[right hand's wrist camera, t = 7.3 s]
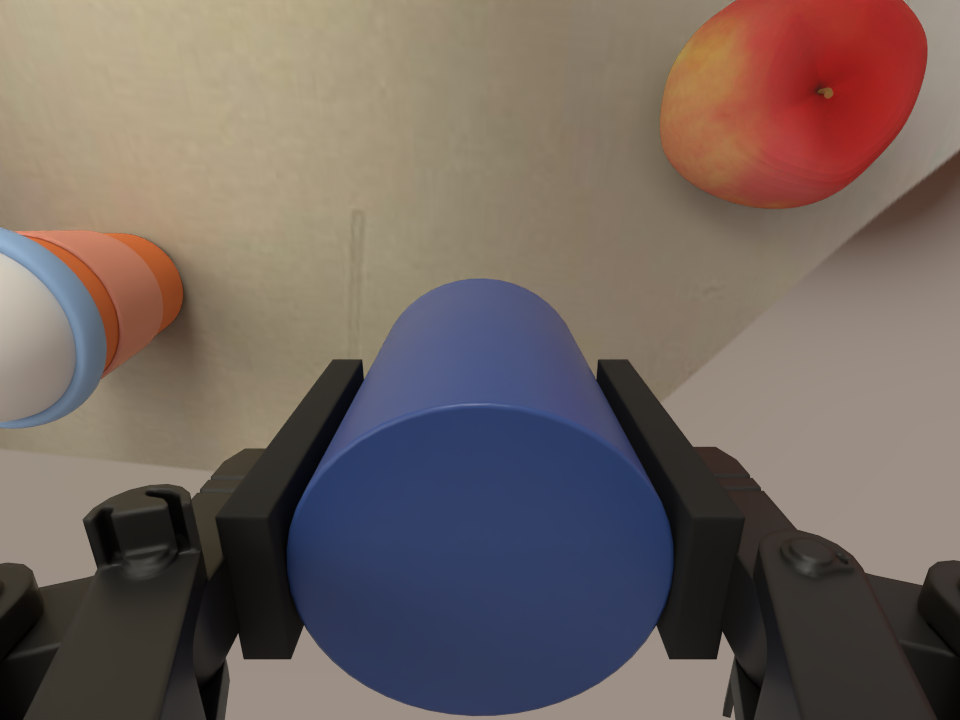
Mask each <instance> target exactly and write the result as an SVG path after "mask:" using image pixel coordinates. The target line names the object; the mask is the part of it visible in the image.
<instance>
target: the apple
mask: <svg viewBox="0 0 960 720" xmlns="http://www.w3.org/2000/svg"><path fill="white" fill-rule="evenodd" d="M926 63H927V39H926V35H925V32H924V29H923V27H922V25H921V23H920V22H919V20H918V18H917V17H916V15H915V14H914V13H913V11H912V10H911V9H910V8H909V6H908V5H907V4H906V3H905V2H904V1H903V0H736V1H735V2H733V3H732V4H730V5H728V6H727V7H726V8H724V9H723V10H721V11H720V12H719V13H717V14H716V15H715V16H713V17H712V18H711V19H709V20H708V21H707V22H706V23H705V24H703V25H702V26H701V27H700V28H699V29H698V30H697V31H696V32H695V34H694V35H693V36H692V37H691V38H690V39H689V41H688V42H687V44H686V45H685V46H684V48H683V49H682V51H681V52H680V54H679V55H678V57H677V59H676V60H675V62H674V64H673V66H672V68H671V71H670V73H669V76H668V79H667V82H666V86H665V90H664V94H663V100H662V105H661V114H660V136H661V142H662V146H663V149H664V152H665V155H666V156H667V158H668V160H669V162H670V163H671V164H672V166H673V167H674V168H675V169H676V170H677V171H678V172H679V173H680V174H681V175H682V176H683V177H684V178H685V179H686V180H688V181H689V182H691V183H692V184H693V185H695V186H697V187H698V188H700V189H702V190H703V191H706V192H708V193H710V194H712V195H714V196H716V197H719V198H721V199H724V200H727V201H729V202H733V203H736V204H740V205H745V206H750V207H756V208H767V209H784V208H793V207H800V206H804V205H808V204H812V203H815V202H817V201H820V200H823V199H825V198H828V197H829V196H831V195H833V194H835V193H836V192H838V191H840V190H842V189H843V188H844V187H846V186H847V185H848V184H850V183H851V182H852V181H854V180H855V179H856V178H857V177H858V176H860V175H861V174H862V173H863V172H864V171H865V170H866V169H867V168H868V167H869V166H870V165H871V164H872V163H873V162H874V161H875V160H876V159H877V158H878V157H879V156H880V155H881V154H882V152H883V151H884V150H885V149H886V148H887V147H888V146H889V145H890V144H891V142H892V141H893V140H894V139H895V138H896V136H897V135H898V133H899V132H900V131H901V129H902V128H903V126H904V125H905V123H906V121H907V119H908V118H909V116H910V114H911V112H912V109H913V107H914V105H915V102H916V100H917V97H918V95H919V92H920V89H921V85H922V82H923V78H924V74H925V69H926Z"/></svg>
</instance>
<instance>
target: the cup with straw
mask: <svg viewBox="0 0 960 720" xmlns="http://www.w3.org/2000/svg"><path fill="white" fill-rule="evenodd" d="M182 301H183V286H182V281H181V278H180V275H179V273H178V271H177V269H176V267H175V265H174V264H173V262H172V261H171V260H170V258H169V257H168V256H167V255H166V254H165V253H164V252H163V251H162V250H161V249H160V248H158V247H157V246H156V245H154V244H153V243H151V242H149V241H148V240H145V239H143V238H141V237H138V236H135V235H130V234H122V233H104V234H102V233H98V232H93V231H83V230H76V231H16V232H13V231H10V230H7V229H4V228H1V227H0V428H27V427H34V426H38V425H43V424H46V423H49V422H52V421H55V420H57V419H60V418H62V417H64V416H66V415H68V414H69V413H71V412H72V411H74V410H75V409H77V408H78V407H79V406H80V405H82V404H83V403H84V402H85V401H86V400H87V399H88V398H89V397H90V395H91V394H92V393H93V391H94V390H95V388H96V387H97V385H98V383H99V381H100V379H102V378H103V377H105V376H106V375H107V374H109V373H110V372H111V371H113V370H114V369H116V368H117V367H118V366H120V365H121V364H122V363H124V362H125V361H126V360H128V359H129V358H131V357H132V356H133V355H135V354H136V353H137V352H139V351H140V350H141V349H143V348H144V347H146V346H147V345H148V344H149V343H150V342H151V341H152V340H153V338H154V337H155V335H156V334H158V333H159V332H161V331H162V330H163V329H165V328H166V327H167V326H168V325H169V324H171V323H172V322H173V321H174V319H175V318H176V317H177V315H178V313H179V311H180V309H181V306H182Z"/></svg>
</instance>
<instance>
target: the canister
mask: <svg viewBox="0 0 960 720" xmlns="http://www.w3.org/2000/svg"><path fill="white" fill-rule="evenodd" d="M286 555H287V575H288V581H289V586H290V592H291V595H292V598H293V601H294V604H295V607H296V609H297V612H298V614H299V616H300V618H301V620H302V622H303V624H304V625H305V627H306V629H307V631H308V632H309V634H310V635H311V636H312V638H313V639H314V641H315V642H316V643H317V645H318V646H319V647H320V648H321V649H322V650H323V652H324V653H325V654H326V655H327V656H328V657H329V658H330V659H331V660H332V661H333V662H334V663H335V664H336V665H338V666H339V667H340V668H341V669H342V670H344V671H345V672H346V673H347V674H348V675H350V676H352V677H353V678H354V679H356V680H357V681H359V682H360V683H362V684H364V685H365V686H367V687H368V688H370V689H372V690H374V691H376V692H378V693H380V694H382V695H384V696H386V697H389V698H391V699H394V700H396V701H399V702H402V703H404V704H407V705H410V706H414V707H418V708H421V709H425V710H429V711H435V712H440V713H446V714H454V715H467V716H496V715H506V714H515V713H521V712H526V711H531V710H535V709H539V708H543V707H546V706H550V705H553V704H556V703H559V702H562V701H564V700H567V699H569V698H571V697H574V696H576V695H578V694H581V693H582V692H584V691H586V690H588V689H590V688H591V687H593V686H595V685H597V684H599V683H600V682H602V681H603V680H604V679H606V678H607V677H609V676H610V675H611V674H613V673H614V672H616V671H617V670H618V669H619V668H620V667H622V666H623V665H624V664H625V663H626V662H627V661H628V660H629V659H630V658H632V657H633V655H634V654H635V653H636V652H637V651H638V650H639V648H640V647H641V646H642V645H643V644H644V643H645V641H646V640H647V639H648V637H649V635H650V634H651V632H652V631H653V629H654V628H655V626H656V625H657V623H658V621H659V619H660V617H661V614H662V612H663V610H664V608H665V606H666V602H667V599H668V596H669V592H670V589H671V584H672V576H673V569H674V545H673V538H672V533H671V528H670V523H669V520H668V518H667V515H666V512H665V510H664V507H663V504H662V502H661V500H660V498H659V496H658V494H657V492H656V491H655V489H654V487H653V485H652V483H651V481H650V479H649V477H648V476H647V474H646V472H645V470H644V468H643V466H642V464H641V463H640V461H639V459H638V457H637V455H636V453H635V451H634V450H633V448H632V446H631V444H630V442H629V440H628V438H627V436H626V435H625V433H624V431H623V429H622V427H621V425H620V423H619V422H618V420H617V418H616V416H615V414H614V412H613V410H612V408H611V407H610V405H609V403H608V401H607V399H606V397H605V395H604V394H603V392H602V390H601V388H600V386H599V384H598V382H597V380H596V379H595V377H594V375H593V373H592V371H591V369H590V367H589V366H588V364H587V362H586V360H585V358H584V356H583V354H582V353H581V351H580V349H579V347H578V345H577V343H576V341H575V339H574V338H573V336H572V334H571V332H570V330H569V329H568V327H567V325H566V323H565V322H564V320H563V319H562V318H561V317H560V315H559V314H558V313H557V312H556V311H555V310H554V309H553V308H552V307H551V306H550V305H549V304H548V303H547V302H546V301H544V300H543V299H542V298H540V297H539V296H538V295H536V294H534V293H532V292H531V291H529V290H527V289H525V288H523V287H520V286H518V285H515V284H512V283H508V282H504V281H500V280H493V279H467V280H460V281H455V282H452V283H448V284H445V285H442V286H440V287H438V288H435V289H433V290H431V291H429V292H428V293H426V294H424V295H423V296H421V297H420V298H418V299H417V300H416V301H415V302H413V303H412V304H411V305H410V306H409V307H408V308H407V309H406V310H405V311H404V312H403V313H402V314H401V315H400V317H399V318H398V320H397V321H396V322H395V324H394V325H393V327H392V329H391V331H390V333H389V334H388V336H387V338H386V340H385V342H384V344H383V346H382V347H381V349H380V351H379V353H378V355H377V357H376V359H375V361H374V362H373V364H372V366H371V368H370V370H369V372H368V374H367V376H366V377H365V379H364V381H363V383H362V385H361V387H360V389H359V391H358V392H357V394H356V396H355V398H354V400H353V402H352V404H351V405H350V407H349V409H348V411H347V413H346V415H345V417H344V419H343V420H342V422H341V424H340V426H339V428H338V430H337V432H336V434H335V435H334V437H333V439H332V441H331V443H330V445H329V447H328V448H327V450H326V452H325V454H324V456H323V458H322V460H321V462H320V463H319V465H318V467H317V469H316V471H315V473H314V475H313V477H312V478H311V480H310V482H309V484H308V486H307V488H306V490H305V492H304V494H303V496H302V498H301V499H300V501H299V503H298V505H297V507H296V510H295V513H294V516H293V519H292V522H291V525H290V529H289V535H288V542H287V549H286Z"/></svg>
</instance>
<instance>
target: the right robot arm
mask: <svg viewBox="0 0 960 720" xmlns="http://www.w3.org/2000/svg"><path fill="white" fill-rule="evenodd" d="M363 381H364V376H363V363H362V360H332V361H331V363H330V364H329V365H328V367H327V368H326V369H325V371H324V372H323V373H322V375H321V376H320V377H319V379H318V380H317V381H316V383H315V384H314V385H313V387H312V388H311V389H310V391H309V392H308V393H307V395H306V396H305V397H304V399H303V400H302V401H301V403H300V404H299V405H298V407H297V408H296V409H295V411H294V412H293V413H292V415H291V416H290V417H289V419H288V420H287V421H286V423H285V424H284V425H283V427H282V428H281V429H280V431H279V432H278V434H277V435H276V436H275V438H274V439H273V440H272V442H271V443H270V444H269V446H268V447H267V448H266V449H244V450H242V451H240V452H239V453H237V454H236V455H234V456H232V457H231V458H229V459H228V460H226V461H224V462H223V463H222V465H221V466H220V467H219V468H218V469H217V470H216V472H215V473H214V474H213V475H212V476H211V480H208V481H207V482H206V483H205V484H204V486H203V487H202V488H201V489H200V493H197V494H196V495H195V496H194V497H193V498H192V500H191V496H190V493H189V492H188V491H187V490H185V489H184V488H183V487H180V486H175V485H170V484H161V485H149V486H144V487H140V488H136V489H131V490H128V491H126V492H123V493H121V494H118V495H116V496H114V497H111V498H109V499H107V500H106V501H104V502H103V503H101V504H99V505H98V506H96V507H95V508H93V509H92V510H91V511H90V512H89V513H88V514H87V516H86V517H85V518H84V519H83V523H84V526H85V529H86V533H87V536H88V539H89V542H90V546H91V549H92V552H93V556H94V559H95V562H96V565H97V571H96V573H95V575H94V576H91V577H87V578H83V579H78V580H73V581H68V582H64V583H59V584H54V585H50V586H45V587H40V588H38V585H37V583H36V580H35V577H34V574H33V571H32V570H31V569H29V568H28V567H27V566H25V565H24V564H15V563H3V564H0V720H225V713H226V705H227V698H228V690H229V682H230V679H229V671H228V665H227V661H226V656H227V654H228V652H229V650H230V648H231V646H232V644H233V642H234V640H235V638H236V637H237V634H238V633H239V638H240V643H241V648H242V653H243V658H244V659H291V658H292V655H293V652H294V650H295V647H296V645H297V642H298V639H299V637H300V634H301V631H302V629H303V626H304V624H303V622H302V620H301V618H300V616H299V614H298V612H297V609H296V607H295V604H294V601H293V598H292V595H291V592H290V586H289V581H288V575H287V555H286V549H287V542H288V535H289V529H290V525H291V522H292V519H293V516H294V513H295V510H296V507H297V505H298V503H299V501H300V499H301V498H302V496H303V494H304V492H305V490H306V488H307V486H308V484H309V482H310V480H311V478H312V477H313V475H314V473H315V471H316V469H317V467H318V465H319V463H320V462H321V460H322V458H323V456H324V454H325V452H326V450H327V448H328V447H329V445H330V443H331V441H332V439H333V437H334V435H335V434H336V432H337V430H338V428H339V426H340V424H341V422H342V420H343V419H344V417H345V415H346V413H347V411H348V409H349V407H350V405H351V404H352V402H353V400H354V398H355V396H356V394H357V392H358V391H359V389H360V387H361V385H362V383H363ZM597 382H598V384H599V386H600V388H601V390H602V392H603V394H604V395H605V397H606V399H607V401H608V403H609V405H610V407H611V408H612V410H613V412H614V414H615V416H616V418H617V420H618V422H619V423H620V425H621V427H622V429H623V431H624V433H625V435H626V436H627V438H628V440H629V442H630V444H631V446H632V448H633V450H634V451H635V453H636V455H637V457H638V459H639V461H640V463H641V464H642V466H643V468H644V470H645V472H646V474H647V476H648V477H649V479H650V481H651V483H652V485H653V487H654V489H655V491H656V492H657V494H658V496H659V498H660V500H661V502H662V504H663V507H664V510H665V512H666V515H667V518H668V520H669V523H670V528H671V533H672V538H673V545H674V569H673V576H672V584H671V589H670V592H669V596H668V599H667V602H666V606H665V608H664V610H663V612H662V614H661V617H660V619H659V621H658V623H657V628H658V631H659V633H660V636H661V638H662V641H663V644H664V646H665V649H666V652H667V654H668V657H669V659H717V655H718V650H719V645H720V640H721V635H722V631H723V633H724V635H725V637H726V639H727V641H728V643H729V645H730V647H731V648H732V650H733V652H734V654H735V656H734V661H733V665H732V670H731V675H730V679H729V684H728V688H727V693H726V698H725V702H724V709H723V716H726V717H729V718H730V717H731V713H732V708H733V705H734V711H735V719H736V720H960V561H955V560H952V561H941V562H937V563H936V564H934V565H933V566H931V567H930V568H929V570H928V573H927V575H926V578H925V581H924V584H923V585H918V584H913V583H908V582H904V581H899V580H894V579H889V578H885V577H880V576H875V575H871V574H868V573H865V572H864V570H863V568H862V567H861V565H860V564H859V563H858V562H857V560H856V559H855V558H854V557H853V555H851V554H850V553H848V552H847V551H846V550H844V549H843V548H842V547H840V546H839V545H838V544H836V543H833V542H831V541H829V540H827V539H825V538H823V537H821V536H818V535H815V534H811V533H807V532H804V531H800V530H797V529H796V528H795V527H794V526H793V524H792V523H791V522H790V521H789V520H788V519H787V518H786V516H785V515H784V514H783V513H782V512H781V510H780V509H779V508H778V507H777V506H776V505H775V504H774V502H773V501H772V500H771V499H770V498H769V497H768V495H767V494H766V493H765V492H764V491H761V487H760V486H759V485H758V484H757V483H756V482H755V480H754V479H753V478H750V475H749V473H748V472H747V471H746V470H745V469H744V468H743V467H742V465H741V464H740V463H739V462H738V461H737V460H736V459H734V458H733V457H731V456H730V455H728V454H726V453H725V452H723V451H721V450H720V449H718V448H717V447H693V446H692V445H691V444H690V442H689V441H688V440H687V438H686V437H685V436H684V434H683V433H682V432H681V430H680V429H679V428H678V426H677V425H676V424H675V422H674V421H673V420H672V418H671V417H670V416H669V414H668V413H667V412H666V410H665V409H664V408H663V406H662V405H661V404H660V402H659V401H658V400H657V398H656V397H655V396H654V394H653V393H652V392H651V390H650V389H649V388H648V386H647V385H646V384H645V382H644V381H643V380H642V378H641V377H640V376H639V374H638V373H637V372H636V370H635V369H634V368H633V366H632V365H631V364H630V362H629V361H628V360H598V368H597Z"/></svg>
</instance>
